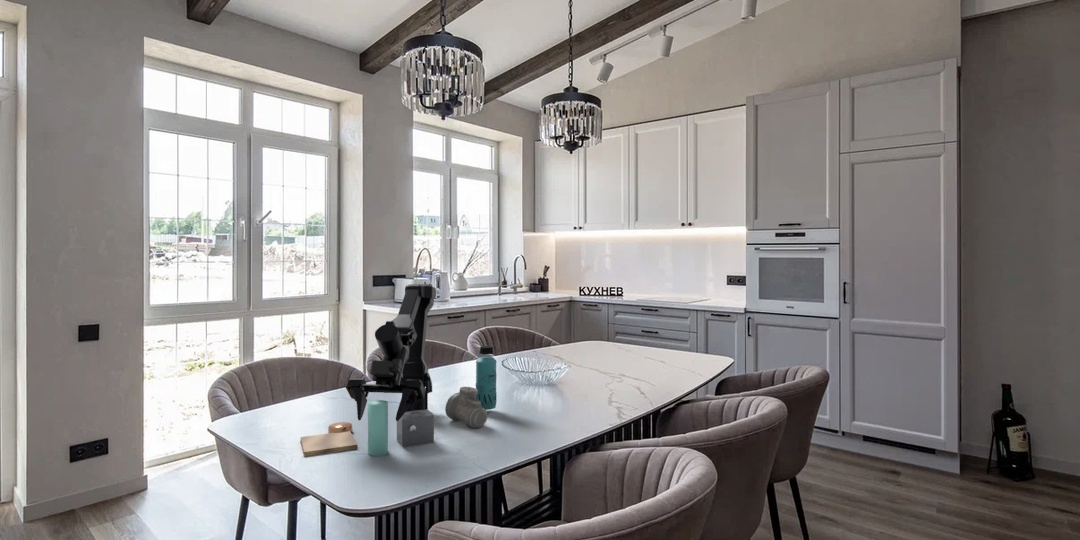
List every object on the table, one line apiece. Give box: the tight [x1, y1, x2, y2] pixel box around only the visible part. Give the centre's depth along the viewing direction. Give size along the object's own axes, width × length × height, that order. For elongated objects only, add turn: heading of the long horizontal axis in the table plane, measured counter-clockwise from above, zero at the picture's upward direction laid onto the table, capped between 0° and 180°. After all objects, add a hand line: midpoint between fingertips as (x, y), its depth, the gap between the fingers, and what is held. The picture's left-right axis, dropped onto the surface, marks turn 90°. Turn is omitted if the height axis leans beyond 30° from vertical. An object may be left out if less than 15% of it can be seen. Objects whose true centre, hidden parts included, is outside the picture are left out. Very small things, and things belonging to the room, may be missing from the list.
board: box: [300, 431, 358, 457], centre depth 139 cm, size 12×12×1 cm
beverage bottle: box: [474, 345, 498, 411], centre depth 168 cm, size 6×7×20 cm
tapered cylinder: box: [367, 399, 389, 457], centre depth 133 cm, size 5×5×12 cm
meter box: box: [396, 409, 435, 448], centre depth 141 cm, size 8×7×7 cm
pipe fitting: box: [444, 386, 488, 429], centre depth 156 cm, size 12×8×10 cm
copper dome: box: [327, 421, 353, 434], centre depth 149 cm, size 6×6×2 cm
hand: (377, 420), depth 133 cm, fingers open, 9 cm apart
